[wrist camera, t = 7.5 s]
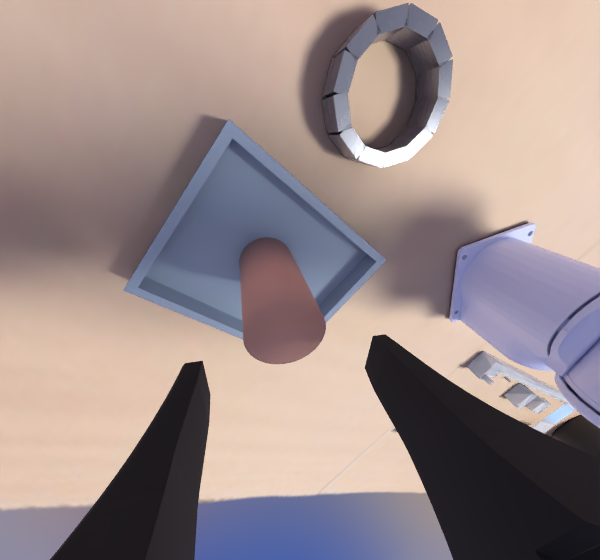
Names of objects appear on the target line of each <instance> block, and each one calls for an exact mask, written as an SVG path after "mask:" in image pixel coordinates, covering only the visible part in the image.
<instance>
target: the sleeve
mask: <svg viewBox="0 0 600 560" xmlns="http://www.w3.org/2000/svg"><path fill="white" fill-rule="evenodd" d="M437 21H438V19H436V18H434V17H433V16H431V15H430V14H428V13H426V12H425V11H423V10H422V9H420V8H418V7H417V6H415V5H414V4H412V3H411V4H410V5H409V6H408V3H406V4H403V5H399V6H396V7H392V8H388V9H385V10H381V11H378V12H375V13H374V14H372V15H371V16H370V17H369V18H368V19H367V20H366V21H364V22H363V23H362V24H361V25H360V26H359V27H358V28H356V29H355V30H354V32H353V33H352V34H351V35H350V36H349V38H348V39H347V40H346V41H345V43H344V44H343V45H342V46H341V48H340V49H339V50H338V51H337V52H336V54H335V55H334V56H333V59H332V60H331V62H330V66H329V70H328V74H327V78H326V82H325V86H324V90H323V94H322V97H324V98H326V99H324V100H322V105H323V111H324V118H325V124H326V130H327V133H330V132H331V133H330V134H329V135H328V136H329V137H330V139H331V140H332V141H333V143H334V144H335V145H336V147H337V148H338V149H339V151H340V152H341V153H342V155H343V156H345V157H346V158H348V159H351V160H355V161H358V162H361V163H364V164H367V165H372V166H377V167H381V168H382V167H387V166H390V165H393V164H396V163H399V162H403V161H406V160H409V158H412V157H413V156H414V155H415V154H416V153H417V152H418V151H419V149H420V148H421V147H422V146H423V145H424V144H425V143H426V142H427V141H428V140H429V139H430V138H431V137H432V134H431V133H435V131H436V129H437V127H438V125H439V122H440V120H441V118H442V116H443V113H444V111H445V109H446V107H447V104H448V102H449V101H448V100H446V98H449V97H450V91H451V78H452V64H453V60H450V61H448V60H449V59H450V58H451V57H452V53H451V51H450V48H449V45H448V42H447V40H446V37H445V34H444V32H443V29H442V26H441V23H438V24H437ZM383 40H386V41H388V42H390V43H392V44H394V45H396V46H397V47H399V48H401V49H403V50H405V51H406V53H407V55H408V57H409V60H410V62H411V64H412V66H413V68H414V70H415V73H416V104H415V106H414V109H413V111H412V114H411V116H410V119H409V121H408V124H407V126H406V128H405V129H404V130H403V131H402V133H401V134H400V135H399V136H398V137H397V138H396V139H395V140H394V141H393V142H392V143H391V144H390V145H389V146H385V147H382V148H379V149H376V150H375V149H372V148H369V147H366V146H365V145H364V143H363V142H362V141H361V139H360V138H359V136H358V135H357V133H356V132H355V130H354V129H353V127H352V126H351V119H350V110H349V101H348V92H349V88H350V85H351V81H352V78H353V74H354V71H355V67H356V64H357V60H358V59H359V58H360V57H361V55H362V54H363V53H364V52H365V51H366V49H367V48H368V47H369V46H370V45H371V44H373V43H376V42H379V41H383Z"/></svg>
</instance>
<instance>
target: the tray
mask: <svg viewBox="0 0 600 560" xmlns="http://www.w3.org/2000/svg"><path fill="white" fill-rule="evenodd" d="M265 237H269V238H275V239H278V240H280V241H282V242H283V243H284V244H286V246H287V247H288V248H289V250H290V251H291V253H292V255H293V257H294V259H295V261H296V263H297V265H298V267H299V269H300V271H301V273H302V275H303V277H304V279H305V281H306V283H307V285H308V287H309V289H310V291H311V293H312V295H313V297H314V299H315V301H316V303H317V305H318V306H319V308H320V310H321V312H322V314H323V316H324V319H325V323H326V322H327V321H328V320H329V319H330V318H331V317H332V316H333V315H334V314H335V313H336V312H337V311H338V310H339V309H340V308H341V307H342V306H343V305H344V304H345V303H346V302H347V301H348V300H349V298H350V297H351V296H352V295H353V294H354V293H355V292H356V291H357V290H358V289H359V288H360V287H361V286H362V285H363V284H364V283H365V282H366V281H367V280H368V279H369V278H370V277H371V276H372V274H373V273H374V272H375V271H376V270H377V269H378V268H379V267H380V266H381V265H382V264H383V263H384V262H385V261H386V259H385V258H384V257H383V256H382V255H380V254H379V253H378V252H377V251H376V250H375V249H374V248H373V247H371V246H370V245H369V244H368V243H367V242H366V241H365V240H364V239H363V238H361V237H360V236H359V235H358V234H357V233H356V232H355V231H354V230H352V229H351V228H350V227H349V226H348V225H347V224H346V223H345V222H344V221H342V220H341V219H340V218H339V217H338V216H337V215H336V214H335V213H333V212H332V211H331V210H330V209H329V208H328V207H327V206H326V205H325V204H323V203H322V202H321V201H320V200H319V199H318V198H317V197H316V196H314V195H313V194H312V193H311V192H310V191H309V190H308V189H307V188H306V187H304V186H303V185H302V184H301V183H300V182H299V181H298V180H297V179H295V178H294V177H293V176H292V175H291V174H290V173H289V172H288V171H287V170H285V169H284V168H283V167H282V166H281V165H280V164H279V163H278V162H276V161H275V160H274V159H273V158H272V157H271V156H270V155H269V154H267V153H266V152H265V151H264V150H263V149H262V148H261V147H260V146H259V145H257V144H256V143H255V142H254V141H253V140H252V139H251V138H250V137H248V136H247V135H246V134H245V133H244V132H243V131H242V130H241V129H240V128H238V127H237V126H236V125H235V124H234V123H233V122H232V121H231V120H229V119H228V121H227V123H226V124H225V126H224V127H223V129H222V131H221V132H220V134H219V136H218V137H217V139H216V140H215V142H214V144H213V145H212V147H211V149H210V150H209V152H208V153H207V155H206V157H205V158H204V160H203V162H202V163H201V165H200V166H199V168H198V170H197V171H196V173H195V175H194V176H193V178H192V179H191V181H190V183H189V184H188V186H187V188H186V189H185V191H184V192H183V194H182V196H181V197H180V199H179V201H178V202H177V204H176V205H175V207H174V209H173V210H172V212H171V214H170V215H169V217H168V218H167V220H166V222H165V223H164V225H163V227H162V228H161V230H160V232H159V233H158V235H157V236H156V238H155V240H154V241H153V243H152V245H151V246H150V248H149V249H148V251H147V253H146V254H145V256H144V258H143V259H142V261H141V262H140V264H139V266H138V267H137V269H136V271H135V272H134V274H133V275H132V277H131V279H130V280H129V282H128V284H127V285H126V287H125V288H124V291H126V292H129V293H131V294H134V295H136V296H139V297H141V298H143V299H146V300H148V301H151V302H153V303H156V304H158V305H161V306H163V307H165V308H168V309H170V310H173V311H175V312H178V313H180V314H182V315H185V316H187V317H190V318H192V319H195V320H197V321H199V322H202V323H204V324H207V325H209V326H212V327H214V328H216V329H219V330H221V331H224V332H226V333H229V334H231V335H233V336H236V337H238V338H241V339H243V324H242V305H241V286H240V266H239V260H240V255H241V253H242V251H243V249H244V248H245V247H246V246H247V245H248V244H249V243H251V242H252V241H254V240H256V239H259V238H265Z"/></svg>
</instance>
